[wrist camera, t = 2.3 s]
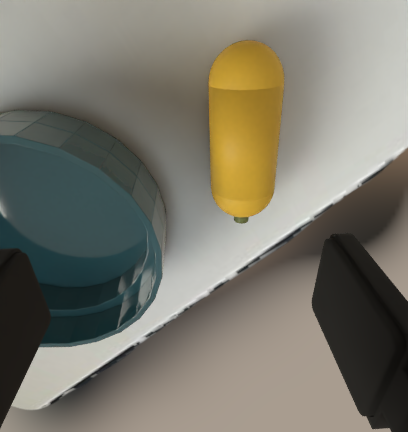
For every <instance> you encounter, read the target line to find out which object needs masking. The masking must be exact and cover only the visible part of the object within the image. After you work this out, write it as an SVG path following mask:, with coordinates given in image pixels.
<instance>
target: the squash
mask: <svg viewBox="0 0 408 432" xmlns="http://www.w3.org/2000/svg"><path fill="white" fill-rule="evenodd" d="M208 86H209V127H210V167H211V190H212V195H213V198H214V200H215V202H216V204H217V205H218V206H219V207H220V208H221V209H222V210H223V211H224V212H226V213H227V214H229V215H232V216H234V220H235V222H237V223H246V222H247V221H248V217H250V216H253V215H255V214H258V213H259V212H261V211H262V210H263V209H265V207H266V206H267V205H268V204H269V202H270V201H271V198H272V196H273V193H274V187H275V177H276V166H277V156H278V145H279V134H280V124H281V113H282V102H283V92H284V71H283V67H282V64H281V62H280V59H279V58H278V56H277V55H276V53H275V52H274V51H273V50H272V49H271V48H270V47H268V46H267V45H265V44H263V43H261V42H257V41H251V40H245V41H239V42H236V43H234V44H231V45H230V46H228V47H227V48H225V49H224V50H223V51H222V52H221V53H220V54H219V55H218V57H217V58H216V59H215V61H214V63H213V65H212V67H211V70H210V74H209V83H208Z"/></svg>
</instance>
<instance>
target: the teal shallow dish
mask: <svg viewBox="0 0 408 432" xmlns="http://www.w3.org/2000/svg"><path fill="white" fill-rule="evenodd" d="M165 238H166V211H165V207H164V204H163V201H162V198H161V195H160V192H159V188H158V186H157V184H156V183H155V181H154V180H153V178H152V177H151V175H150V173H149V172H148V170H147V169H146V167H145V166H144V164H143V163H142V162H141V161H140V160H139V159H138V158H137V157H136V156H135V155H134V154H133V153H132V152H131V151H129V150H128V149H127V148H126V147H125V146H124V145H123V144H122V143H121V142H120V141H119V140H117V139H116V138H114V137H112V136H111V135H109V134H107V133H105V132H104V131H102V130H100V129H98V128H96V127H95V126H93V125H91V124H89V123H88V122H85V121H82V120H79V119H75V118H72V117H68V116H65V115H61V114H58V113H55V112H50V111H25V110H14V111H10V112H6V113H2V114H0V249H10V248H18V249H20V250H21V251H22V253H26V254H27V255H28V257H29V260H30V263H31V265H32V268H33V270H34V273H35V275H36V278H37V280H38V283H39V285H40V288H41V290H42V293H43V295H44V298H45V301H46V303H47V306H48V308H49V311H50V314H51V321H50V324H49V327H48V329H47V331H46V333H45V335H44V337H43V339H42V341H41V343H40V346H39V347H72V346H77V345H82V344H88V343H93V342H97V341H100V340H103V339H105V338H107V337H110V336H112V335H115V334H117V333H120V332H122V331H123V330H124V329H126V328H127V327H129V326H130V325H131V324H133V323H134V322H135V321H137V320H138V319H140V318H141V316H142V315H143V314H144V313H145V311H146V310H147V309H148V307H149V306H150V305H151V303H152V302H153V301H154V299H155V297H156V294H157V291H158V288H159V285H160V282H161V279H162V274H163V262H164V250H165Z"/></svg>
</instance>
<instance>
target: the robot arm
mask: <svg viewBox="0 0 408 432" xmlns="http://www.w3.org/2000/svg"><path fill="white" fill-rule="evenodd" d="M312 308H313V311H314V313H315V316H316V318H317V320H318V322H319V325H320V327H321V329H322V331H323V333H324V336H325V338H326V340H327V342H328V344H329V347H330V349H331V351H332V353H333V355H334V358H335V360H336V362H337V364H338V367H339V369H340V371H341V373H342V376H343V378H344V380H345V382H346V384H347V387H348V389H349V391H350V393H351V396H352V398H353V400H354V402H355V405H356V407H357V409H358V411H359V413H360V414H361V415H362V416H367V418H368V421H369V423H370V425H371V427H372V429H380V428H390V429H391V432H408V301H407V300H406V299H405V298H404V296H403V295H402V294H401V293H400V292H399V290H398V289H397V288H396V287H395V285H394V284H393V283H392V282H391V281H390V279H389V278H388V277H387V276H386V274H385V273H384V272H383V271H382V269H381V268H380V267H379V266H378V265H377V263H376V262H375V261H374V260H373V258H372V257H371V256H370V255H369V253H368V252H367V251H366V250H365V249H364V247H363V246H362V245H361V244H360V242H359V241H358V240H357V239H356V238H355V236H354V235H353V234H351V233H346V234H332V235H331V236H330V238H329V239H326V240H325V242H324V246H323V251H322V255H321V260H320V264H319V269H318V274H317V279H316V283H315V288H314V292H313V297H312ZM50 321H51V314H50V311H49V308H48V306H47V303H46V301H45V298H44V295H43V293H42V290H41V288H40V285H39V283H38V280H37V278H36V275H35V273H34V270H33V268H32V265H31V263H30V260H29V257H28V255H27V254H26V253H22V251H21V250H20V249H18V248H10V249H0V428H1V426H2V423H3V421H4V419H5V417H6V415H7V413H8V411H9V409H10V407H11V405H12V402H13V400H14V398H15V396H16V394H17V392H18V390H19V388H20V386H21V383H22V381H23V379H24V377H25V375H26V373H27V371H28V369H29V367H30V364H31V362H32V360H33V358H34V356H35V354H36V352H37V350H38V348H39V346H40V343H41V341H42V339H43V337H44V335H45V333H46V331H47V329H48V327H49V324H50Z"/></svg>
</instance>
